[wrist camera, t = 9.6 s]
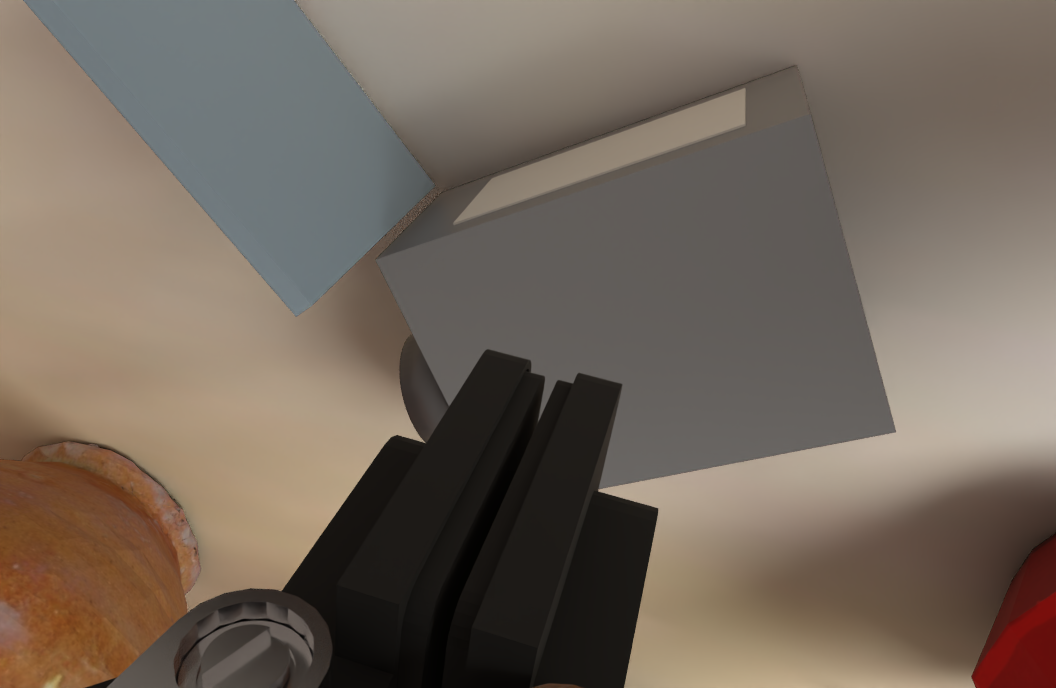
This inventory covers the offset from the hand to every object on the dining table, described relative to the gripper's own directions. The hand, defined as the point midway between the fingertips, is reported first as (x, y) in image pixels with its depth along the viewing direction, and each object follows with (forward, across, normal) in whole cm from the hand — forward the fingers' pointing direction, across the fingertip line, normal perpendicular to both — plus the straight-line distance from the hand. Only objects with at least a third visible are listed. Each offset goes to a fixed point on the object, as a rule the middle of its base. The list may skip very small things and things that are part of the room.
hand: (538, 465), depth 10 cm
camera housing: (+27, +1, +9) cm, 28 cm away
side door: (+26, +15, +4) cm, 30 cm away
